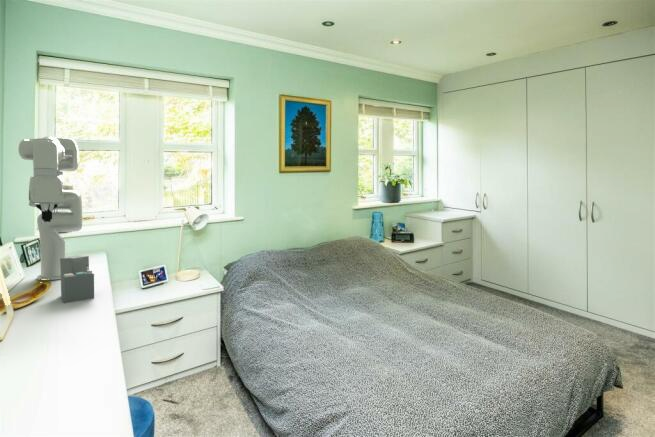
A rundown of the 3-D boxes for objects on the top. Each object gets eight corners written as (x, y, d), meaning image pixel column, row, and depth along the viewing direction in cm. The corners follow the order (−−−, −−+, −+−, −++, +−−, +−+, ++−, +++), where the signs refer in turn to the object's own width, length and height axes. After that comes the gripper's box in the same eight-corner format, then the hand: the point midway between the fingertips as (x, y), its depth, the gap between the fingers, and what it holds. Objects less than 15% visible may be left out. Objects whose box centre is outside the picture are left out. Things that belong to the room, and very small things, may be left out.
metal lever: (86, 273, 150) (85, 264, 150) (88, 272, 150) (88, 264, 150) (86, 273, 149) (86, 264, 149) (89, 272, 150) (88, 264, 150)
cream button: (63, 282, 144) (63, 274, 144) (71, 281, 146) (71, 273, 146) (65, 283, 142) (65, 275, 142) (73, 282, 144) (73, 274, 144)
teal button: (75, 280, 147) (75, 272, 146) (82, 279, 149) (82, 271, 148) (77, 281, 145) (77, 273, 145) (84, 280, 147) (84, 272, 147)
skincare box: (73, 297, 149) (73, 258, 148) (59, 295, 151) (58, 257, 149) (91, 291, 157) (90, 255, 156) (77, 290, 159) (76, 254, 158)
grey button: (86, 273, 148) (86, 270, 148) (90, 273, 149) (90, 269, 149) (87, 274, 147) (87, 270, 147) (91, 273, 148) (91, 270, 148)
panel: (61, 300, 145) (61, 275, 144) (90, 295, 152) (90, 271, 151) (64, 303, 142) (64, 277, 141) (94, 298, 149) (94, 273, 148)
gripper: (66, 174, 148) (67, 220, 150) (18, 172, 137) (20, 221, 139) (72, 174, 143) (72, 221, 145) (22, 172, 132) (24, 223, 134)
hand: (47, 221), depth 142 cm, fingers closed
